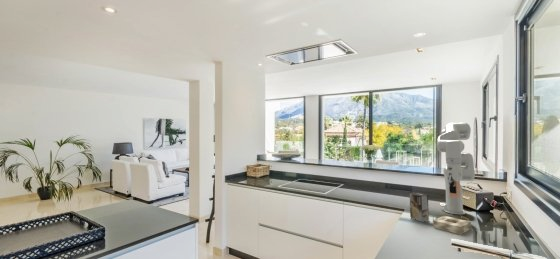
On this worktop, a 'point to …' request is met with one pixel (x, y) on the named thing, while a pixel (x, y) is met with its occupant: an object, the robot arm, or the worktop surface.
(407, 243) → the worktop surface
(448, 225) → the socket
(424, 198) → the coffee box
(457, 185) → the peg
